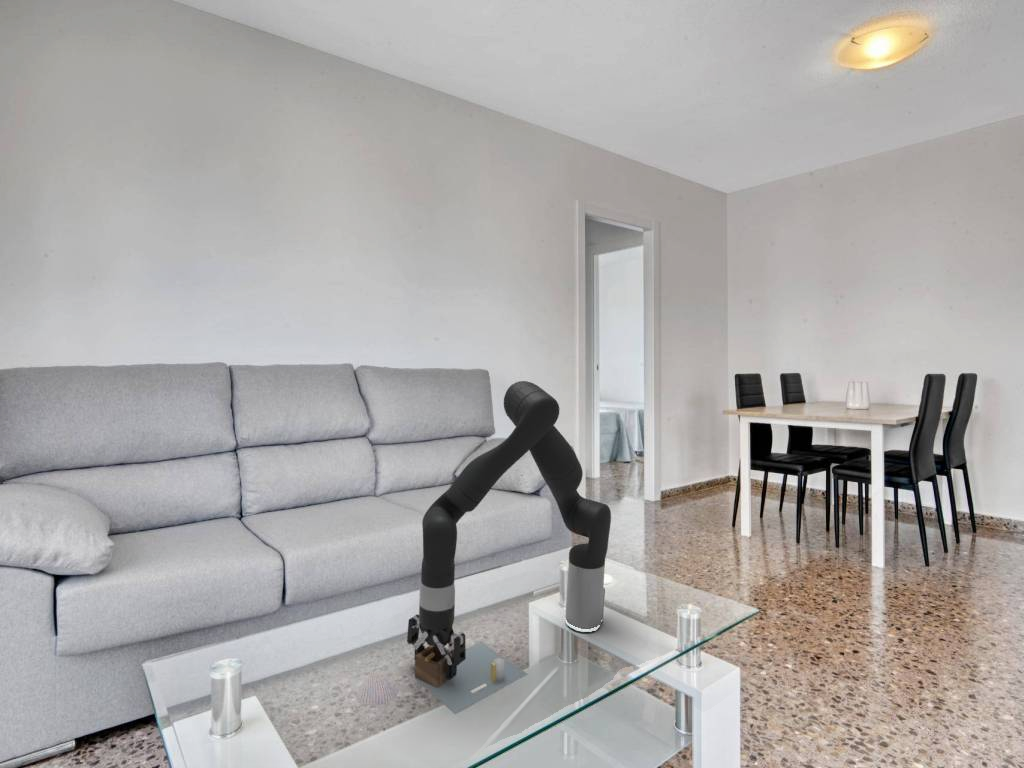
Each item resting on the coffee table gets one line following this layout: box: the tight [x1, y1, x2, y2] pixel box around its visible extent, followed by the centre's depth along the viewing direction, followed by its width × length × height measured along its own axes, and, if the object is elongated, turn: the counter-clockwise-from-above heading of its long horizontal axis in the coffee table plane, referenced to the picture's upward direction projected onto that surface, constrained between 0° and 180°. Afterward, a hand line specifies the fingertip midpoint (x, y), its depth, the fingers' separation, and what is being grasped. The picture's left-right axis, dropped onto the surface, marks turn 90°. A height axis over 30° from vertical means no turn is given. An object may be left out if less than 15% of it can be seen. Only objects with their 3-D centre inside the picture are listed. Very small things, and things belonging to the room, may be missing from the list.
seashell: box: [355, 672, 400, 707], centre depth 123 cm, size 10×6×10 cm
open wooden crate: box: [414, 645, 452, 688], centre depth 128 cm, size 6×6×6 cm
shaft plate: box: [410, 641, 528, 715], centre depth 129 cm, size 20×16×5 cm
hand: (435, 670), depth 128 cm, fingers open, 8 cm apart
